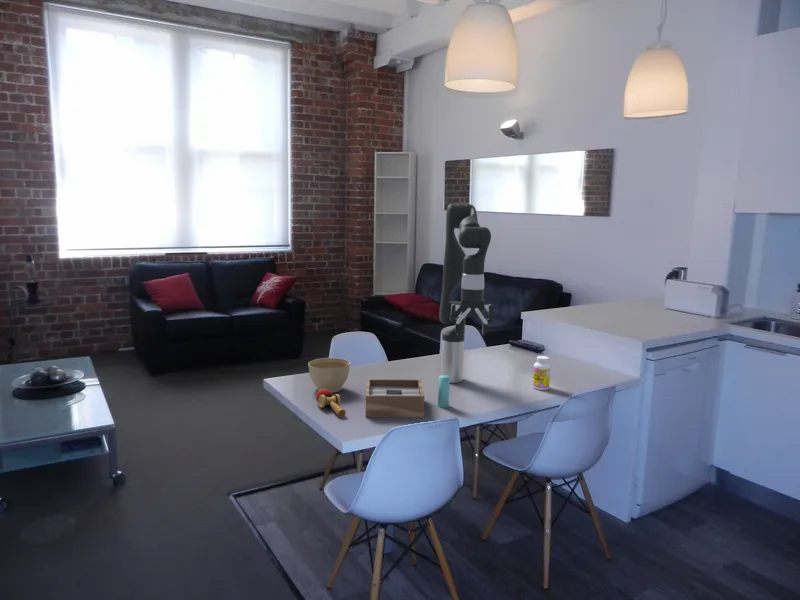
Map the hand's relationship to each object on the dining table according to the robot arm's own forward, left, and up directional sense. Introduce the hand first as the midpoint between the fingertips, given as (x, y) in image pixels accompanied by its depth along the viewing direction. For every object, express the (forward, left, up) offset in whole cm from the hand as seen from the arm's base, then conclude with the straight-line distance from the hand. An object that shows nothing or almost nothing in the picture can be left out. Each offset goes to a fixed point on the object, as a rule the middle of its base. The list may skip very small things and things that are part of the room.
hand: (470, 334), depth 202 cm
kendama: (-7, -47, -30) cm, 56 cm away
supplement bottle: (-35, +35, -30) cm, 58 cm away
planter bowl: (-30, -50, -30) cm, 65 cm away
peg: (-12, -7, -29) cm, 32 cm away
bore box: (-10, -25, -29) cm, 40 cm away
